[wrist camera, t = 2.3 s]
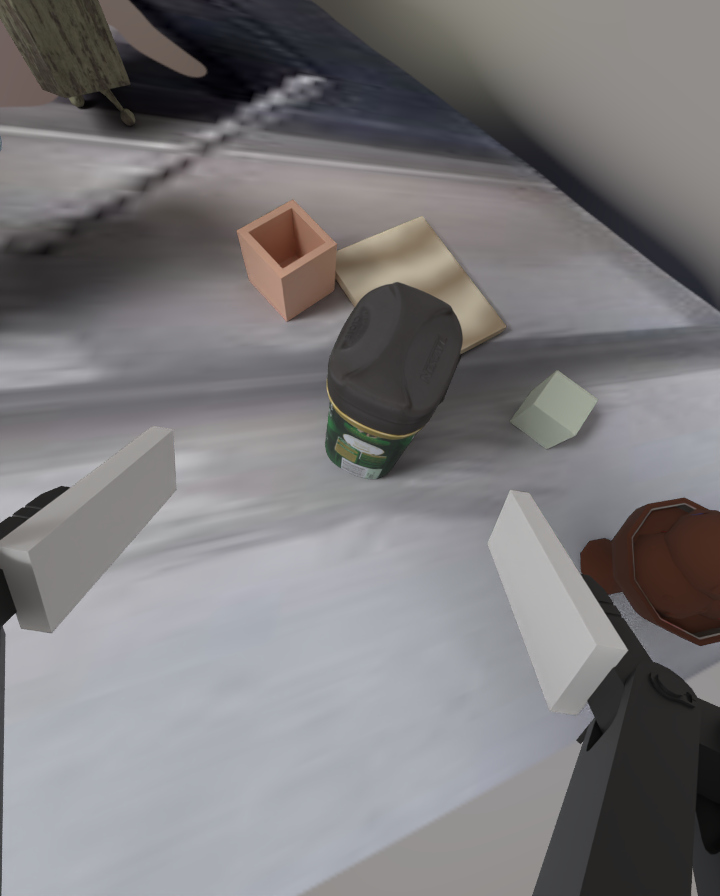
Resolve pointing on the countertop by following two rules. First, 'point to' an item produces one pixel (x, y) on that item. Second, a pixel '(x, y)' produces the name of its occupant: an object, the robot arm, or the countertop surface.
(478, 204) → the countertop surface
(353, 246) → the birch board
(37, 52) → the tabletop clock
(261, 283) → the terracotta cup
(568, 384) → the grey-green block
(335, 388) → the coffee jar
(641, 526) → the ice cream bowl
